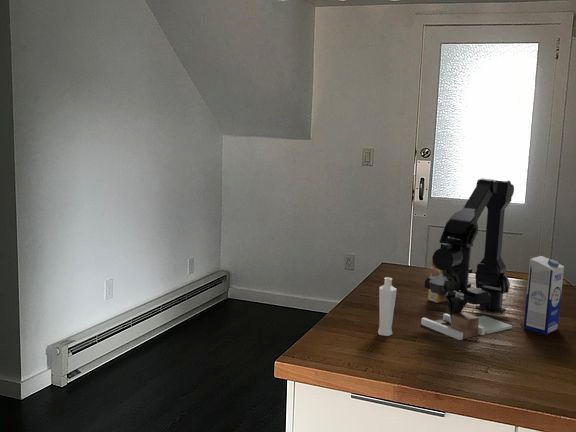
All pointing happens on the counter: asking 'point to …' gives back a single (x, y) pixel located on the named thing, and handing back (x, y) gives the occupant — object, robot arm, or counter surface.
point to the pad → (492, 324)
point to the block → (465, 324)
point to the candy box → (431, 296)
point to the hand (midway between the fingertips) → (453, 320)
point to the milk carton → (543, 295)
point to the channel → (447, 330)
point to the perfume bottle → (386, 307)
